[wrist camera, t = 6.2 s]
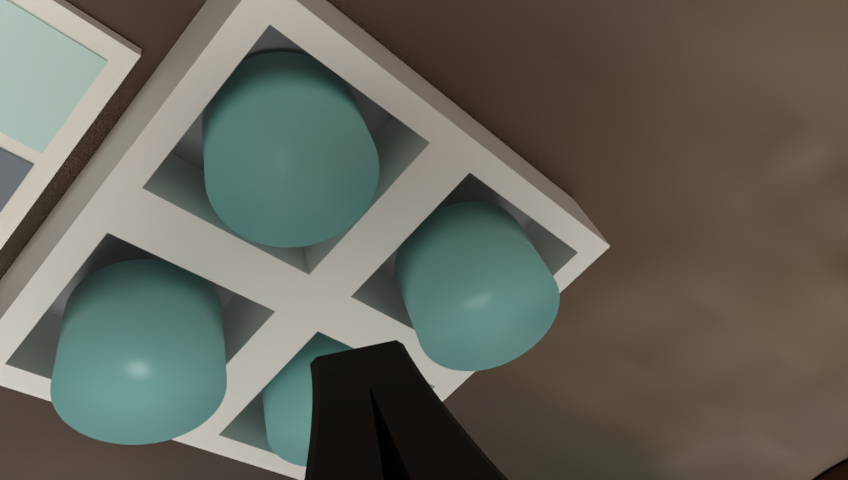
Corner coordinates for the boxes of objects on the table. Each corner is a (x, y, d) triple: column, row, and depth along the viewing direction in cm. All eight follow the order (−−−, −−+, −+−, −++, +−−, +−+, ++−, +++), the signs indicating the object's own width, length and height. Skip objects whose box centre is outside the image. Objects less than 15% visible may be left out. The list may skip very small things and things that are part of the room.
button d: (296, 214, 19) (309, 271, 18) (169, 141, 17) (168, 198, 15) (388, 110, 18) (412, 158, 16) (265, 19, 16) (276, 62, 14)
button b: (170, 388, 20) (169, 461, 18) (34, 339, 18) (16, 416, 16) (251, 298, 19) (259, 365, 17) (116, 234, 17) (109, 303, 15)
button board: (331, 434, 26) (343, 493, 24) (-18, 304, 19) (-40, 373, 17) (573, 199, 23) (610, 246, 21) (251, -61, 16) (261, -27, 14)
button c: (459, 327, 22) (486, 388, 20) (366, 276, 20) (386, 338, 18) (549, 241, 21) (587, 297, 19) (460, 177, 19) (493, 232, 17)
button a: (328, 418, 25) (341, 479, 23) (234, 382, 22) (239, 446, 21) (402, 346, 24) (422, 404, 22) (310, 300, 21) (323, 360, 19)
